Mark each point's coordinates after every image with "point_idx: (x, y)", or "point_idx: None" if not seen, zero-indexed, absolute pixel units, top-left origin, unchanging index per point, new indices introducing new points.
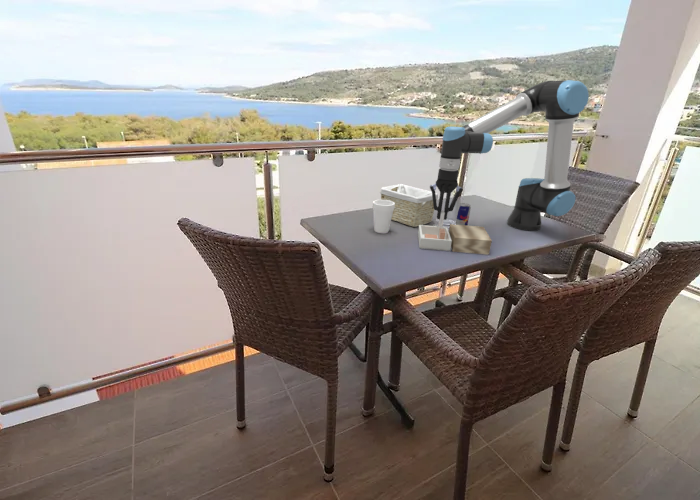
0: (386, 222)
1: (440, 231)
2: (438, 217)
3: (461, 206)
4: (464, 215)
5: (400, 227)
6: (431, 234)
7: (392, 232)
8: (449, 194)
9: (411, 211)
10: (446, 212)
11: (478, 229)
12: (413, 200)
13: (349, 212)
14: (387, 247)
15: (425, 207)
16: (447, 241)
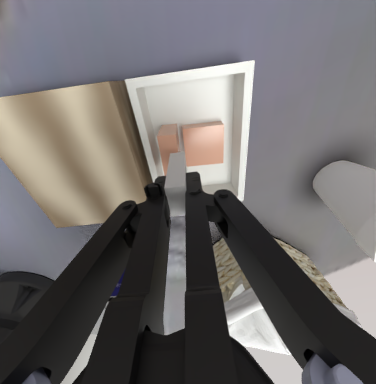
0: (356, 178)
1: (176, 147)
2: (193, 175)
3: None
4: None
5: (274, 213)
6: (203, 164)
7: (303, 177)
8: (118, 313)
9: None
10: (154, 186)
11: (60, 204)
12: None
13: None
14: (365, 26)
15: (227, 280)
16: (142, 77)
